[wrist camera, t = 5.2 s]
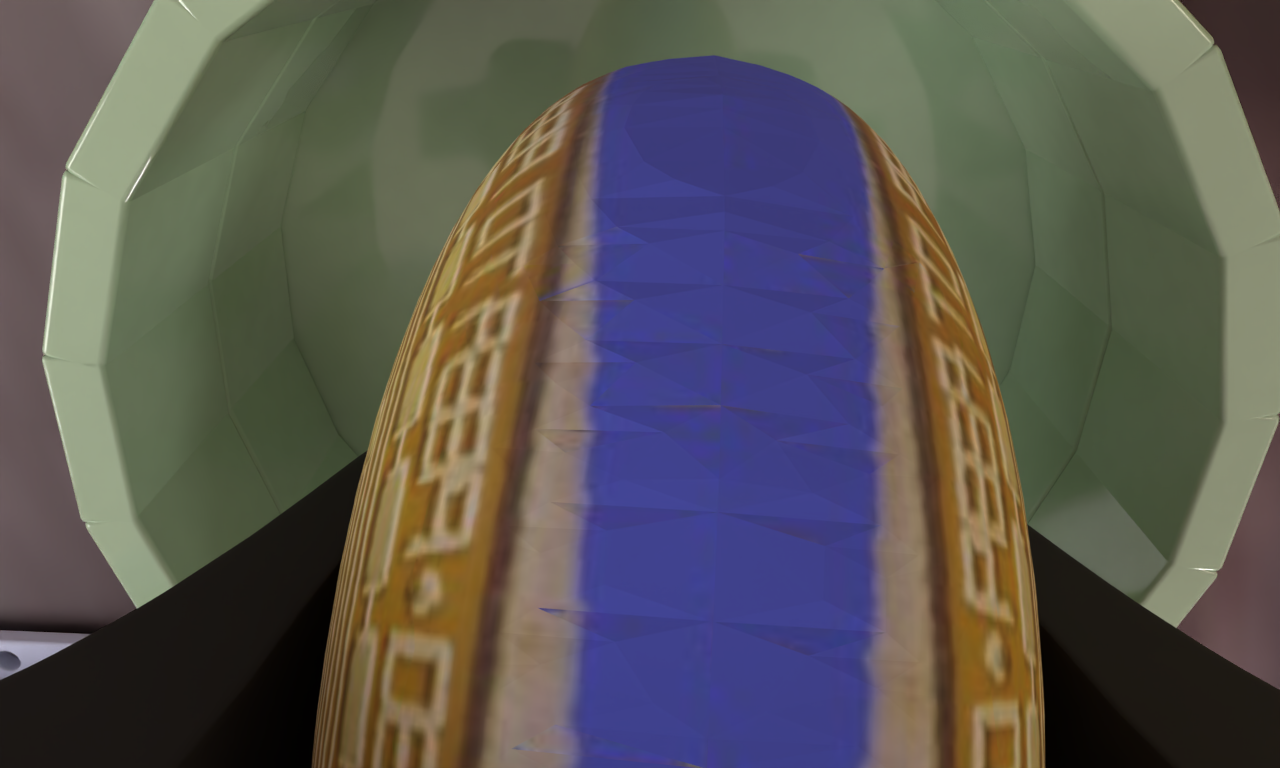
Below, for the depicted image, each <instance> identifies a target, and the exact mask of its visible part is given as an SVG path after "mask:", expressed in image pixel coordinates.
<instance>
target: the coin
mask: <svg viewBox="0 0 1280 768" xmlns="http://www.w3.org/2000/svg"><path fill="white" fill-rule="evenodd" d="M311 768H1045V715H1044V693H1043V675H1042V661H1041V648H1040V634H1039V621H1038V608H1037V594H1036V584H1035V577H1034V570H1033V563H1032V556H1031V549H1030V542H1029V534H1028V527H1027V520H1026V513H1025V506H1024V499H1023V493H1022V488H1021V483H1020V478H1019V472H1018V467H1017V462H1016V457H1015V451H1014V446H1013V441H1012V436H1011V432H1010V427H1009V422H1008V418H1007V415H1006V411H1005V407H1004V403H1003V400H1002V396H1001V392H1000V388H999V385H998V381H997V377H996V373H995V370H994V366H993V362H992V359H991V355H990V352H989V348H988V345H987V342H986V338H985V335H984V332H983V328H982V326H981V323H980V320H979V318H978V315H977V312H976V310H975V307H974V304H973V302H972V299H971V296H970V294H969V291H968V289H967V286H966V283H965V281H964V278H963V276H962V274H961V271H960V269H959V266H958V264H957V262H956V259H955V257H954V254H953V252H952V250H951V248H950V246H949V244H948V242H947V240H946V238H945V236H944V234H943V232H942V230H941V228H940V226H939V224H938V222H937V221H936V219H935V217H934V215H933V213H932V212H931V210H930V208H929V206H928V204H927V203H926V201H925V199H924V197H923V195H922V194H921V192H920V190H919V188H918V187H917V185H916V184H915V182H914V181H913V179H912V178H911V176H910V175H909V173H908V171H907V170H906V169H905V167H904V166H903V165H902V163H901V162H900V161H899V159H898V158H897V157H896V155H895V154H894V153H893V152H892V150H891V149H890V148H889V146H888V145H887V144H886V142H885V141H884V140H883V139H882V138H881V137H880V136H879V135H878V134H877V133H876V132H875V131H874V130H873V129H872V128H871V127H870V126H869V125H868V124H867V123H866V122H865V121H864V120H863V119H862V118H861V117H859V116H858V115H857V114H856V113H855V112H854V111H853V110H851V109H850V108H849V107H848V106H846V105H845V104H843V103H842V102H840V101H839V100H838V99H836V98H835V97H833V96H832V95H830V94H828V93H826V92H825V91H823V90H821V89H819V88H818V87H816V86H813V85H811V84H809V83H807V82H805V81H803V80H801V79H798V78H796V77H793V76H791V75H789V74H786V73H782V72H779V71H776V70H773V69H770V68H767V67H764V66H761V65H757V64H752V63H747V62H743V61H738V60H734V59H729V58H725V57H720V56H715V55H713V56H700V57H687V58H674V59H666V60H660V61H653V62H648V63H643V64H638V65H633V66H628V67H624V68H621V69H618V70H615V71H613V72H610V73H607V74H605V75H603V76H600V77H598V78H596V79H594V80H591V81H589V82H587V83H585V84H583V85H581V86H579V87H578V88H576V89H574V90H573V91H571V92H570V93H568V94H567V95H565V96H564V97H562V98H561V99H559V100H558V101H557V102H555V103H554V104H552V105H551V106H550V107H548V108H547V109H546V110H545V111H544V112H543V113H542V114H541V115H540V116H539V117H537V118H536V119H535V120H534V121H533V122H532V123H531V124H530V125H529V126H528V127H527V128H526V129H525V130H524V131H523V132H522V133H521V134H520V135H519V136H518V137H517V138H516V140H515V141H514V142H513V143H512V144H511V145H510V146H509V148H508V149H507V150H506V151H505V152H504V154H503V155H502V156H501V157H500V159H499V160H498V161H497V162H496V163H495V165H494V166H493V167H492V169H491V170H490V171H489V173H488V174H487V176H486V177H485V179H484V180H483V181H482V183H481V184H480V186H479V187H478V188H477V190H476V191H475V193H474V195H473V196H472V198H471V200H470V201H469V203H468V204H467V206H466V208H465V209H464V211H463V213H462V214H461V216H460V217H459V219H458V221H457V222H456V224H455V226H454V227H453V229H452V231H451V233H450V235H449V237H448V239H447V241H446V243H445V245H444V247H443V249H442V250H441V252H440V254H439V256H438V258H437V260H436V262H435V264H434V266H433V268H432V271H431V273H430V275H429V277H428V279H427V282H426V284H425V286H424V288H423V290H422V293H421V295H420V297H419V299H418V302H417V304H416V307H415V310H414V312H413V315H412V317H411V320H410V322H409V325H408V327H407V330H406V332H405V335H404V338H403V340H402V343H401V345H400V348H399V350H398V353H397V356H396V359H395V361H394V364H393V368H392V371H391V374H390V377H389V380H388V383H387V386H386V389H385V392H384V395H383V398H382V401H381V404H380V407H379V411H378V414H377V417H376V421H375V424H374V428H373V432H372V435H371V439H370V443H369V447H368V450H367V454H366V458H365V462H364V465H363V469H362V473H361V477H360V481H359V484H358V488H357V492H356V496H355V501H354V506H353V510H352V515H351V519H350V524H349V528H348V533H347V537H346V542H345V546H344V551H343V555H342V560H341V564H340V570H339V575H338V581H337V587H336V593H335V599H334V604H333V610H332V616H331V622H330V628H329V634H328V639H327V645H326V651H325V658H324V665H323V672H322V680H321V687H320V694H319V702H318V709H317V718H316V727H315V735H314V745H313V756H312V767H311Z"/></svg>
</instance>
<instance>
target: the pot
mask: <svg viewBox="0 0 1280 768" xmlns="http://www.w3.org/2000/svg"><path fill="white" fill-rule="evenodd" d="M713 55H715V56H720V57H725V58H729V59H734V60H738V61H743V62H747V63H752V64H757V65H761V66H764V67H767V68H770V69H773V70H776V71H779V72H782V73H786V74H789V75H791V76H793V77H796V78H798V79H801V80H803V81H805V82H807V83H809V84H811V85H813V86H816V87H818V88H819V89H821V90H823V91H825V92H826V93H828V94H830V95H832V96H833V97H835V98H836V99H838V100H839V101H840V102H842V103H843V104H845V105H846V106H848V107H849V108H850V109H851V110H853V111H854V112H855V113H856V114H857V115H858V116H859V117H861V118H862V119H863V120H864V121H865V122H866V123H867V124H868V125H869V126H870V127H871V128H872V129H873V130H874V131H875V132H876V133H877V134H878V135H879V136H880V137H881V138H882V139H883V140H884V141H885V142H886V144H887V145H888V146H889V148H890V149H891V150H892V152H893V153H894V154H895V155H896V157H897V158H898V159H899V161H900V162H901V163H902V165H903V166H904V167H905V169H906V170H907V171H908V173H909V175H910V176H911V178H912V179H913V181H914V182H915V184H916V185H917V187H918V188H919V190H920V192H921V194H922V195H923V197H924V199H925V201H926V203H927V204H928V206H929V208H930V210H931V212H932V213H933V215H934V217H935V219H936V221H937V222H938V224H939V226H940V228H941V230H942V232H943V234H944V236H945V238H946V240H947V242H948V244H949V246H950V248H951V250H952V252H953V254H954V257H955V259H956V262H957V264H958V266H959V269H960V271H961V274H962V276H963V278H964V281H965V283H966V286H967V289H968V291H969V294H970V296H971V299H972V302H973V304H974V307H975V310H976V312H977V315H978V318H979V320H980V323H981V326H982V328H983V332H984V335H985V338H986V342H987V345H988V348H989V352H990V355H991V359H992V362H993V366H994V370H995V373H996V377H997V381H998V385H999V388H1000V392H1001V396H1002V400H1003V403H1004V407H1005V411H1006V415H1007V418H1008V422H1009V427H1010V432H1011V436H1012V441H1013V446H1014V451H1015V457H1016V462H1017V467H1018V472H1019V478H1020V483H1021V488H1022V493H1023V499H1024V506H1025V513H1026V520H1027V524H1028V525H1029V526H1031V527H1032V528H1033V529H1035V530H1036V531H1037V532H1039V533H1040V534H1041V535H1043V536H1044V537H1045V538H1047V539H1048V540H1050V541H1051V542H1052V543H1054V544H1055V545H1056V546H1058V547H1059V548H1060V549H1062V550H1063V551H1065V552H1066V553H1067V554H1069V555H1070V556H1071V557H1073V558H1074V559H1076V560H1077V561H1078V562H1080V563H1081V564H1083V565H1084V566H1085V567H1087V568H1088V569H1089V570H1091V571H1092V572H1094V573H1095V574H1097V575H1098V576H1099V577H1101V578H1102V579H1104V580H1105V581H1106V582H1108V583H1109V584H1111V585H1112V586H1114V587H1115V588H1117V589H1118V590H1120V591H1121V592H1122V593H1124V594H1125V595H1127V596H1128V597H1130V598H1131V599H1133V600H1134V601H1136V602H1137V603H1138V604H1140V605H1142V606H1143V607H1145V608H1146V609H1148V610H1149V611H1151V612H1152V613H1154V614H1155V615H1157V616H1158V617H1160V618H1162V619H1163V620H1165V621H1166V622H1168V623H1169V624H1171V625H1172V626H1174V627H1175V628H1177V626H1178V625H1179V624H1180V623H1181V621H1182V620H1183V619H1184V618H1185V616H1186V615H1187V614H1188V613H1189V611H1190V610H1191V609H1192V608H1193V606H1194V605H1195V604H1196V603H1197V601H1198V600H1199V599H1200V598H1201V596H1202V595H1203V594H1204V593H1205V591H1206V590H1207V589H1208V588H1209V586H1210V585H1211V584H1212V583H1213V581H1214V580H1215V579H1216V578H1217V571H1219V570H1220V569H1221V568H1222V566H1223V564H1224V561H1225V558H1226V556H1227V553H1228V551H1229V548H1230V546H1231V543H1232V541H1233V538H1234V535H1235V533H1236V530H1237V528H1238V525H1239V523H1240V520H1241V517H1242V515H1243V512H1244V510H1245V507H1246V505H1247V502H1248V500H1249V497H1250V494H1251V492H1252V489H1253V487H1254V484H1255V482H1256V479H1257V477H1258V474H1259V471H1260V469H1261V466H1262V464H1263V461H1264V459H1265V456H1266V454H1267V451H1268V448H1269V446H1270V443H1271V441H1272V438H1273V436H1274V433H1275V431H1276V428H1277V425H1278V423H1279V416H1278V414H1279V413H1280V211H1279V208H1278V205H1277V203H1276V200H1275V197H1274V194H1273V192H1272V189H1271V186H1270V183H1269V181H1268V178H1267V175H1266V173H1265V170H1264V167H1263V164H1262V162H1261V159H1260V156H1259V153H1258V151H1257V148H1256V145H1255V142H1254V140H1253V137H1252V134H1251V131H1250V129H1249V126H1248V123H1247V120H1246V118H1245V115H1244V112H1243V109H1242V107H1241V104H1240V101H1239V98H1238V96H1237V93H1236V90H1235V87H1234V85H1233V82H1232V79H1231V76H1230V74H1229V71H1228V68H1227V66H1226V63H1225V60H1224V57H1223V55H1222V52H1221V49H1220V48H1219V47H1218V46H1217V45H1215V44H1214V40H1213V37H1212V35H1211V34H1210V33H1209V32H1208V31H1207V30H1206V29H1205V28H1204V27H1203V26H1202V24H1201V23H1200V22H1199V21H1198V20H1197V19H1196V18H1195V17H1194V16H1193V15H1192V14H1191V12H1190V11H1189V10H1188V9H1187V8H1186V7H1185V6H1184V5H1183V4H1182V3H1181V2H1180V1H1179V0H154V1H153V3H152V5H151V7H150V8H149V10H148V12H147V14H146V16H145V18H144V19H143V21H142V23H141V25H140V27H139V29H138V31H137V32H136V34H135V36H134V38H133V40H132V42H131V44H130V45H129V47H128V49H127V51H126V53H125V55H124V57H123V58H122V60H121V62H120V64H119V66H118V68H117V70H116V71H115V73H114V75H113V77H112V79H111V81H110V83H109V84H108V86H107V88H106V90H105V92H104V94H103V95H102V97H101V99H100V101H99V103H98V105H97V107H96V108H95V110H94V112H93V114H92V116H91V118H90V120H89V121H88V123H87V125H86V127H85V129H84V131H83V133H82V134H81V136H80V138H79V140H78V142H77V144H76V146H75V147H74V149H73V151H72V153H71V155H70V157H69V159H68V160H67V163H66V169H67V170H66V171H65V172H64V174H63V176H62V183H61V192H60V200H59V209H58V218H57V226H56V235H55V244H54V252H53V261H52V270H51V278H50V287H49V296H48V304H47V313H46V322H45V330H44V339H43V348H42V351H43V354H45V355H44V356H43V358H42V363H43V367H44V371H45V375H46V379H47V383H48V387H49V391H50V395H51V399H52V403H53V407H54V411H55V415H56V419H57V423H58V428H59V432H60V436H61V440H62V444H63V448H64V452H65V456H66V460H67V464H68V468H69V472H70V476H71V480H72V484H73V488H74V492H75V497H76V501H77V505H78V509H79V513H80V517H81V519H82V521H84V522H86V528H87V530H88V532H89V533H90V535H91V536H92V538H93V540H94V541H95V543H96V544H97V546H98V547H99V549H100V551H101V552H102V554H103V555H104V557H105V559H106V560H107V562H108V563H109V565H110V567H111V568H112V570H113V571H114V573H115V575H116V576H117V578H118V579H119V581H120V583H121V584H122V586H123V587H124V589H125V591H126V592H127V594H128V595H129V597H130V599H131V600H132V602H133V603H134V605H135V606H136V608H139V607H140V606H142V605H144V604H146V603H147V602H149V601H151V600H152V599H154V598H155V597H157V596H159V595H160V594H162V593H164V592H165V591H167V590H169V589H170V588H172V587H173V586H175V585H176V584H178V583H179V582H181V581H182V580H184V579H185V578H187V577H188V576H190V575H192V574H193V573H195V572H196V571H198V570H199V569H201V568H202V567H204V566H205V565H207V564H208V563H210V562H211V561H213V560H214V559H216V558H218V557H219V556H221V555H222V554H224V553H225V552H227V551H228V550H230V549H231V548H233V547H234V546H236V545H237V544H239V543H240V542H242V541H244V540H245V539H247V538H248V537H250V536H251V535H252V534H254V533H255V532H257V531H258V530H260V529H261V528H262V527H264V526H265V525H266V524H268V523H269V522H271V521H272V520H273V519H275V518H276V517H277V516H279V515H280V514H282V513H283V512H284V511H286V510H287V509H288V508H290V507H291V506H293V505H294V504H295V503H297V502H298V501H299V500H301V499H302V498H304V497H305V496H306V495H308V494H309V493H310V492H312V491H313V490H314V489H316V488H317V487H318V486H320V485H321V484H322V483H324V482H325V481H326V480H328V479H329V478H330V477H332V476H333V475H334V474H336V473H337V472H338V471H340V470H341V469H342V468H344V467H345V466H346V465H348V464H349V463H350V462H352V461H353V460H355V459H356V458H357V457H359V456H360V455H361V454H363V453H364V452H366V451H367V450H368V447H369V443H370V439H371V435H372V432H373V428H374V424H375V421H376V417H377V414H378V411H379V407H380V404H381V401H382V398H383V395H384V392H385V389H386V386H387V383H388V380H389V377H390V374H391V371H392V368H393V364H394V361H395V359H396V356H397V353H398V350H399V348H400V345H401V343H402V340H403V338H404V335H405V332H406V330H407V327H408V325H409V322H410V320H411V317H412V315H413V312H414V310H415V307H416V304H417V302H418V299H419V297H420V295H421V293H422V290H423V288H424V286H425V284H426V282H427V279H428V277H429V275H430V273H431V271H432V268H433V266H434V264H435V262H436V260H437V258H438V256H439V254H440V252H441V250H442V249H443V247H444V245H445V243H446V241H447V239H448V237H449V235H450V233H451V231H452V229H453V227H454V226H455V224H456V222H457V221H458V219H459V217H460V216H461V214H462V213H463V211H464V209H465V208H466V206H467V204H468V203H469V201H470V200H471V198H472V196H473V195H474V193H475V191H476V190H477V188H478V187H479V186H480V184H481V183H482V181H483V180H484V179H485V177H486V176H487V174H488V173H489V171H490V170H491V169H492V167H493V166H494V165H495V163H496V162H497V161H498V160H499V159H500V157H501V156H502V155H503V154H504V152H505V151H506V150H507V149H508V148H509V146H510V145H511V144H512V143H513V142H514V141H515V140H516V138H517V137H518V136H519V135H520V134H521V133H522V132H523V131H524V130H525V129H526V128H527V127H528V126H529V125H530V124H531V123H532V122H533V121H534V120H535V119H536V118H537V117H539V116H540V115H541V114H542V113H543V112H544V111H545V110H546V109H547V108H548V107H550V106H551V105H552V104H554V103H555V102H557V101H558V100H559V99H561V98H562V97H564V96H565V95H567V94H568V93H570V92H571V91H573V90H574V89H576V88H578V87H579V86H581V85H583V84H585V83H587V82H589V81H591V80H594V79H596V78H598V77H600V76H603V75H605V74H607V73H610V72H613V71H615V70H618V69H621V68H624V67H628V66H633V65H638V64H643V63H648V62H653V61H660V60H666V59H674V58H687V57H700V56H713Z"/></svg>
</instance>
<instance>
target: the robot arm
mask: <svg viewBox="0 0 1280 768" xmlns="http://www.w3.org/2000/svg"><path fill="white" fill-rule="evenodd" d="M366 454H367V451H366V452H364V453H363V454H361V455H360V456H359V457H357V458H356V459H355V460H353V461H352V462H350V463H349V464H348V465H346V466H345V467H344V468H342V469H341V470H340V471H338V472H337V473H336V474H334V475H333V476H332V477H330V478H329V479H328V480H326V481H325V482H324V483H322V484H321V485H320V486H318V487H317V488H316V489H314V490H313V491H312V492H310V493H309V494H308V495H306V496H305V497H304V498H302V499H301V500H299V501H298V502H297V503H295V504H294V505H293V506H291V507H290V508H288V509H287V510H286V511H284V512H283V513H282V514H280V515H279V516H277V517H276V518H275V519H273V520H272V521H271V522H269V523H268V524H266V525H265V526H264V527H262V528H261V529H260V530H258V531H257V532H255V533H254V534H252V535H251V536H250V537H248V538H247V539H245V540H244V541H242V542H240V543H239V544H237V545H236V546H234V547H233V548H231V549H230V550H228V551H227V552H225V553H224V554H222V555H221V556H219V557H218V558H216V559H214V560H213V561H211V562H210V563H208V564H207V565H205V566H204V567H202V568H201V569H199V570H198V571H196V572H195V573H193V574H192V575H190V576H188V577H187V578H185V579H184V580H182V581H181V582H179V583H178V584H176V585H175V586H173V587H172V588H170V589H169V590H167V591H165V592H164V593H162V594H160V595H159V596H157V597H155V598H154V599H152V600H151V601H149V602H147V603H146V604H144V605H142V606H140V607H139V608H137V609H135V610H133V611H132V612H130V613H128V614H127V615H125V616H123V617H121V618H120V619H118V620H116V621H114V622H113V623H111V624H109V625H107V626H105V627H103V628H101V629H100V630H98V631H96V632H94V633H92V634H79V633H55V632H32V631H8V630H0V768H311V767H312V756H313V745H314V735H315V727H316V718H317V709H318V702H319V694H320V687H321V680H322V672H323V665H324V658H325V651H326V645H327V639H328V634H329V628H330V622H331V616H332V610H333V604H334V599H335V593H336V587H337V581H338V575H339V570H340V564H341V560H342V555H343V551H344V546H345V542H346V537H347V533H348V528H349V524H350V519H351V515H352V510H353V506H354V501H355V496H356V492H357V488H358V484H359V481H360V477H361V473H362V469H363V465H364V462H365V458H366ZM1027 527H1028V534H1029V542H1030V549H1031V556H1032V563H1033V570H1034V577H1035V584H1036V594H1037V608H1038V621H1039V634H1040V648H1041V661H1042V675H1043V693H1044V715H1045V768H1280V690H1279V689H1277V688H1275V687H1273V686H1272V685H1270V684H1268V683H1266V682H1264V681H1263V680H1261V679H1259V678H1257V677H1256V676H1254V675H1252V674H1250V673H1248V672H1247V671H1245V670H1243V669H1241V668H1240V667H1238V666H1236V665H1235V664H1233V663H1231V662H1230V661H1228V660H1226V659H1225V658H1223V657H1221V656H1220V655H1218V654H1216V653H1215V652H1213V651H1211V650H1210V649H1208V648H1207V647H1205V646H1203V645H1202V644H1200V643H1199V642H1197V641H1195V640H1194V639H1192V638H1191V637H1189V636H1188V635H1186V634H1185V633H1183V632H1182V631H1180V630H1179V629H1177V628H1175V627H1174V626H1172V625H1171V624H1169V623H1168V622H1166V621H1165V620H1163V619H1162V618H1160V617H1158V616H1157V615H1155V614H1154V613H1152V612H1151V611H1149V610H1148V609H1146V608H1145V607H1143V606H1142V605H1140V604H1138V603H1137V602H1136V601H1134V600H1133V599H1131V598H1130V597H1128V596H1127V595H1125V594H1124V593H1122V592H1121V591H1120V590H1118V589H1117V588H1115V587H1114V586H1112V585H1111V584H1109V583H1108V582H1106V581H1105V580H1104V579H1102V578H1101V577H1099V576H1098V575H1097V574H1095V573H1094V572H1092V571H1091V570H1089V569H1088V568H1087V567H1085V566H1084V565H1083V564H1081V563H1080V562H1078V561H1077V560H1076V559H1074V558H1073V557H1071V556H1070V555H1069V554H1067V553H1066V552H1065V551H1063V550H1062V549H1060V548H1059V547H1058V546H1056V545H1055V544H1054V543H1052V542H1051V541H1050V540H1048V539H1047V538H1045V537H1044V536H1043V535H1041V534H1040V533H1039V532H1037V531H1036V530H1035V529H1033V528H1032V527H1031V526H1029V525H1028V524H1027ZM10 652H11V653H13V654H15V655H16V656H14V655H13V654H11V653H10Z"/></svg>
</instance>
